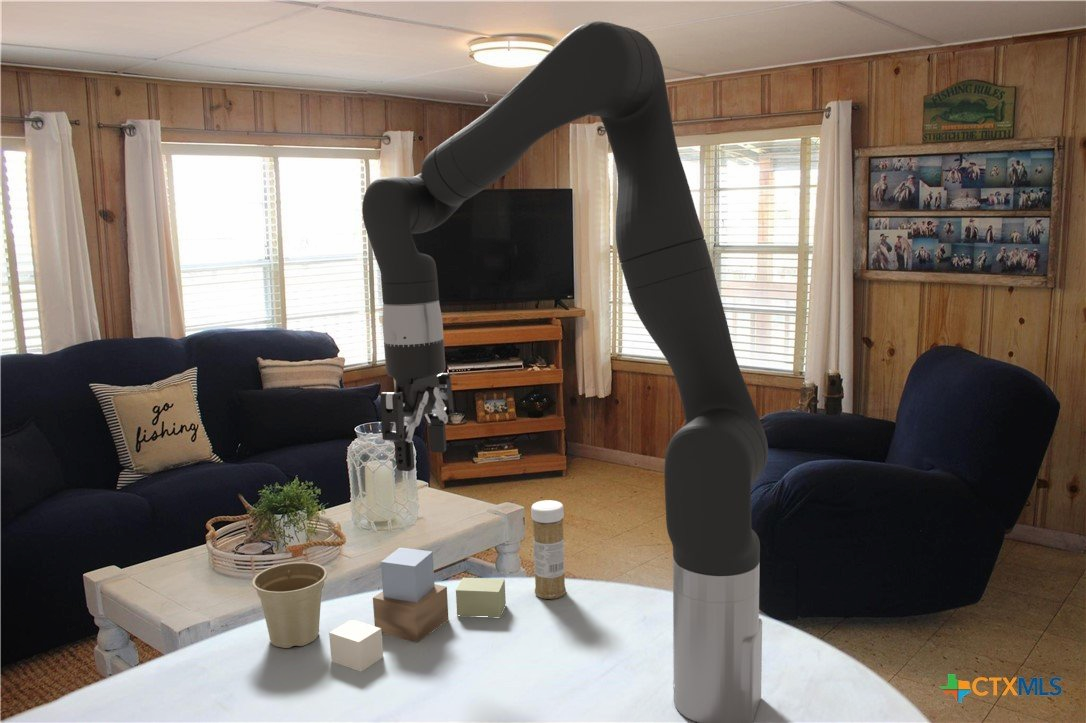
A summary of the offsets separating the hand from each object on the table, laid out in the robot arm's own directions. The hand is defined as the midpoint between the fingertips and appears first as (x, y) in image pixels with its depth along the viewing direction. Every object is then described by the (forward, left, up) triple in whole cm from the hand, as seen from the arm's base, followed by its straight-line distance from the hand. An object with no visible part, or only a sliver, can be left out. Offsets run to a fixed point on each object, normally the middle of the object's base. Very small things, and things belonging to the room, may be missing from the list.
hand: (422, 460), depth 117 cm
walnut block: (+3, +1, -23) cm, 23 cm away
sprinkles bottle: (-11, -14, -23) cm, 29 cm away
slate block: (+3, +1, -18) cm, 18 cm away
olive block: (-4, -6, -23) cm, 24 cm away
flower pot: (+16, +9, -23) cm, 29 cm away
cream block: (+5, +11, -23) cm, 26 cm away
